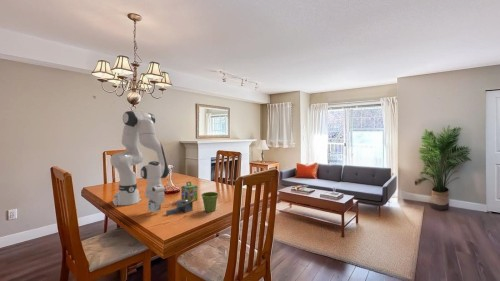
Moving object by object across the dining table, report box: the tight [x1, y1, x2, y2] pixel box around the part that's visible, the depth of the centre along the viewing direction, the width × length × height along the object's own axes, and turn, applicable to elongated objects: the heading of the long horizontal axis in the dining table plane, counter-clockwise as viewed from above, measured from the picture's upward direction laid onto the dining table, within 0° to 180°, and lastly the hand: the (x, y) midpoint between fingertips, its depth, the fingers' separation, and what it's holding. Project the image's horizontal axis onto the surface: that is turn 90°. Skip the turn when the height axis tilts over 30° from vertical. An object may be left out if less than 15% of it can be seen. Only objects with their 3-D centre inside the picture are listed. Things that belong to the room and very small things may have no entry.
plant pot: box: [200, 191, 220, 213], centre depth 160 cm, size 12×12×11 cm
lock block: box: [147, 200, 162, 213], centre depth 155 cm, size 6×6×6 cm
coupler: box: [165, 199, 194, 216], centre depth 158 cm, size 10×16×7 cm, turn 139°
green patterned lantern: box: [180, 180, 198, 202], centre depth 183 cm, size 9×9×15 cm
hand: (154, 206), depth 155 cm, fingers closed on lock block, 6 cm apart
